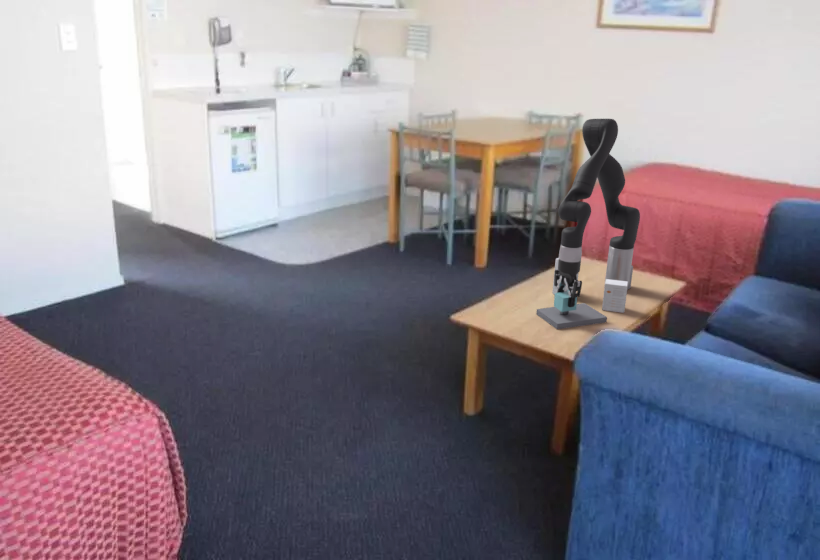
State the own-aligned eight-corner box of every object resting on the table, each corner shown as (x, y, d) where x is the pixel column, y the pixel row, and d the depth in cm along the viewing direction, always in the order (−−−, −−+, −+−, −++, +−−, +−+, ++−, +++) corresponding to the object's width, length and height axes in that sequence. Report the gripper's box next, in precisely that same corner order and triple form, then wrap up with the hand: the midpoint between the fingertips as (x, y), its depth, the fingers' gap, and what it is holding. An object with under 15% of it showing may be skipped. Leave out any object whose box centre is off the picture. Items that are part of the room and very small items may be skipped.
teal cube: (567, 304, 244) (568, 291, 242) (576, 309, 239) (577, 296, 237) (553, 306, 242) (554, 293, 240) (562, 311, 237) (563, 298, 235)
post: (565, 311, 243) (567, 294, 241) (570, 314, 240) (572, 297, 238) (558, 312, 242) (560, 295, 240) (562, 315, 239) (564, 298, 237)
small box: (624, 307, 253) (628, 281, 250) (624, 313, 248) (627, 286, 245) (602, 304, 256) (605, 278, 252) (601, 310, 251) (604, 283, 247)
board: (583, 308, 252) (584, 303, 252) (606, 322, 240) (607, 317, 239) (536, 314, 246) (536, 309, 245) (556, 329, 233) (557, 323, 233)
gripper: (591, 263, 229) (586, 309, 235) (568, 251, 242) (563, 295, 247) (572, 265, 227) (567, 311, 232) (549, 252, 239) (545, 297, 245)
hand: (565, 303), depth 240 cm, fingers open, 6 cm apart
